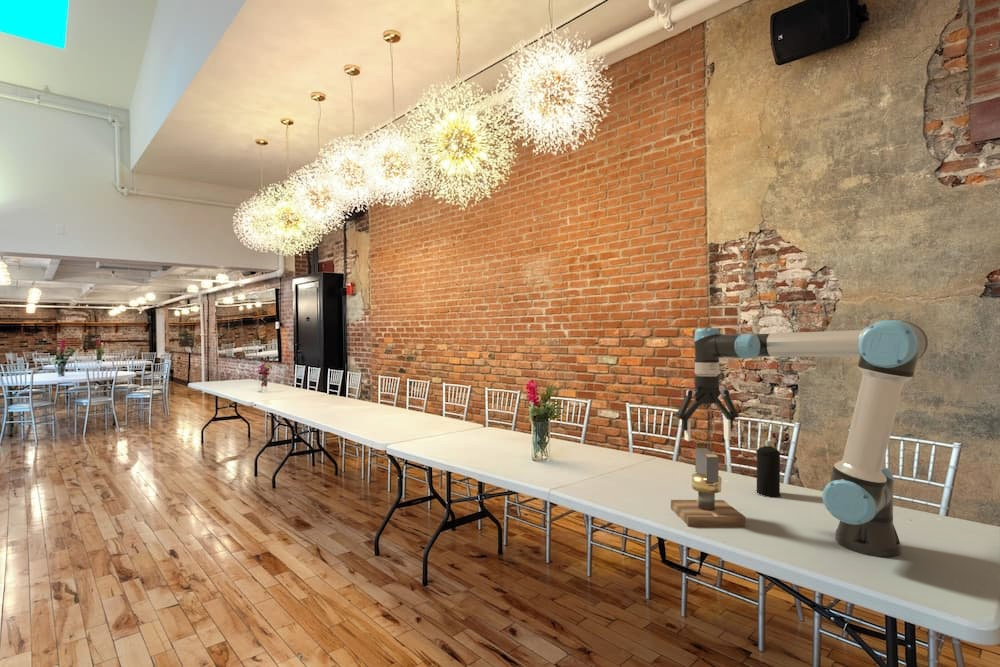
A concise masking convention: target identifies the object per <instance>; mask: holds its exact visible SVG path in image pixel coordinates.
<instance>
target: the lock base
mask: <svg viewBox="0 0 1000 667" xmlns="http://www.w3.org/2000/svg"><path fill="white" fill-rule="evenodd" d="M697 492H698V494H697V495H698V496H697V497H698V498H696V499H670V509H671V510H672V511H673V513H674V514H675V515H676V516H677V517H678V518H679V517H680V518H681V519H682V520H683V521H684V522H685V523H686V524H687V525H686V524H685V523H684V522H683V523H684V524H685V525H686V526H687V527H746V520H747V519H746V517H747V516H745V515H744V514H743V513H741V512H740V511H739V510H737V509H736V508H734V507H733V506H732V505H730V503H728V502H726V501H725V500H724V499H715V498H716V496H715V494H716V493H704V492H699V491H697ZM680 518H679V519H680ZM681 519H680V520H681ZM682 520H681V521H682Z"/></svg>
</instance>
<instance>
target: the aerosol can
mask: <svg viewBox="0 0 1000 667" xmlns="http://www.w3.org/2000/svg"><path fill="white" fill-rule="evenodd" d="M755 452H756V491H757V493H759V494H762V495H765V496H764V497H766V496H769V497H768V498H779V497H781V492H780V490H781V484H780V483H781V480H780V479H781V452H780V451H779V450H778V449H777V448H775V447H773V446H772V440H769V439H768V440H767V439H766V440H765V444H764V446H760V447H759V448H757V449H756V450H755ZM757 493H756V494H757ZM759 494H758V495H759Z"/></svg>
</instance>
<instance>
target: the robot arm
mask: <svg viewBox="0 0 1000 667" xmlns="http://www.w3.org/2000/svg"><path fill="white" fill-rule="evenodd" d="M693 343H694V375H695V376H694V390H690V389H686V390H685V394H684V398H683V399H682V402H681V404H680V407H679V408H678V410H677V413H676V416H675V417H676V418H677V419H680V420H681V429H682V431H684V440H685V441H686V442H691V438H692V436H691V420H690V418H691V417H692V416H693V414H694V413H695V412H696V410H698V408H699V407H700V406H701V405H702V404H704V405H708V404H710V405H712V404H714V405H715V406H716V407H717V409H718V410H719V411H720V412H721V413H722V414H723V416H724V417H725V418H723V438H724V440H726V441H731V440H732V439H731V434H732V433H731V430H733V428H734V427H733V426H734V421H735V419H736V418H737V419H738V418H739V417H740V416H739V413H738V411H737V409H736V407H735V405H734V403H733V401H732V399H731V397H730V390H729V389H725V388H722V389H720V376H718V375H719V374H720V358H730V359H731V358H733V359H743V360H745V359H755V358H758V357H759V358H762V357H764V358H768V357H769V358H771V357H777V358H778V357H787V358H788V357H795V358H797V357H805V358H806V357H810V358H811V357H815V358H816V357H828V358H829V357H833V358H834V357H859V358H858V359H859V360H858V364H857V369H858V370H859V371H860V372H861V374H862V376H861V381H860V386H859V389H858V395H857V399H856V403H855V407H854V411H853V415H852V418H851V419H852V420H851V424H850V427H849V431H848V436H847V440H846V443H845V448H844V452H843V455H842V459H841V460H839V461H837V462H835V463H834V465H833V468H832V473H831V475H830V476H831V477H830V481H829V482H828V483H827V484H826V485H825V487H824V488H823V491H822V502H823V506H824V507H825V508H826V510H827V511H828V512H829V514H830V515H831V516H832V517H833V518H835V519H836V520H838V521H839V523H838V526H837V528H836V529H835V541H836V542H837V543H838V544H839V545H840V546H842V547H845V548H847V549H849V550H851V551H854V552H858V553H861V554H863V555H869V556H870V555H871V556H874V557H875V556H876V557H896V556H899V555H900V554H901V553H902V544H901V541H900V538H899V536H898V533H897V530H896V527H895V525H894V482H895V479H894V473H893V471H892V470H891V469H890V468H888V467H885V466H883V465H884V462H885V457H886V454H887V450H888V446H889V443H890V439H891V435H892V431H893V430H892V429H893V426H894V422H895V418H896V416H897V415H896V414H897V410H898V408H899V403H900V399H901V394H902V392H903V388H904V383H906V382H907V381H909V380H912V379H913V378H914V375H915V371H916V367H917V364H918V361H919V360H920V359H921V358H922V357H923V356H924V355H925V354H926V353H927V350H928V348H929V339H928V336H927V334H926V332H925V331H924V330H923V328H921V327H920V326H919V325H917V324H915V323H913V322H911V321H910V322H909V321H906V320H898V319H886V320H880V321H877V322H875V323H873V324H871V325H868V326H866V327H865V328H863V329H858V330H857V329H855V330H851V329H850V330H831V331H830V330H827V331H824V330H823V331H803V332H799V331H798V332H775V333H727V334H725V333H724V334H721V333H720V330H719V329H718V328H714V327H713V328H710V327H709V328H707V327H706V328H704V327H703V328H697V329H695V331H694V341H693ZM720 396H721V397H722V399H723V401H724V404H725V405H724V404H723V403H722V401H721V400H720V398H719V397H720ZM693 397H695V398H694V399H693V401H692V398H693ZM691 401H692V403H691ZM690 403H691V404H690ZM726 407H727V408H726Z"/></svg>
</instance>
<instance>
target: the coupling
mask: <svg viewBox="0 0 1000 667" xmlns="http://www.w3.org/2000/svg"><path fill="white" fill-rule="evenodd" d="M694 472H695V473H693V474H692V475H691V488H692V490H693V491H696V492H698V491H699V492H704V493H715V494H718V493H721V492H722V477H721V475H720V476H719V456H718V455H717V454H715V453H713V451H711V450H710V449H708V448H707V447H706V448H704V447H703V448H702V447H695V470H694Z"/></svg>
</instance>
